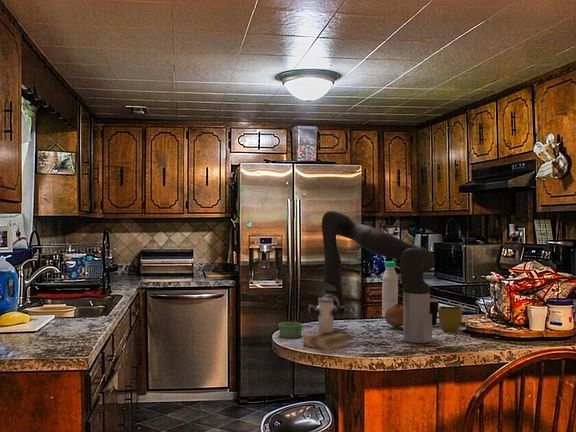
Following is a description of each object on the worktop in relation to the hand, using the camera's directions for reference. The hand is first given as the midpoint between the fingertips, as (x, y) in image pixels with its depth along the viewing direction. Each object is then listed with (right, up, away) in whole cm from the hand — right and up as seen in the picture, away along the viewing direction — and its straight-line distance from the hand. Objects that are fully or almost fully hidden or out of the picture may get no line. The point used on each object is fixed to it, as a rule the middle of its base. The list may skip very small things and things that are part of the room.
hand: (325, 313), depth 188 cm
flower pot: (+51, -12, +29) cm, 60 cm away
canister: (0, -7, +3) cm, 7 cm away
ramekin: (-12, -12, +18) cm, 25 cm away
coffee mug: (+46, -12, +44) cm, 65 cm away
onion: (+31, -12, +34) cm, 48 cm away
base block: (0, -11, +2) cm, 12 cm away
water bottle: (+33, -13, +59) cm, 69 cm away
